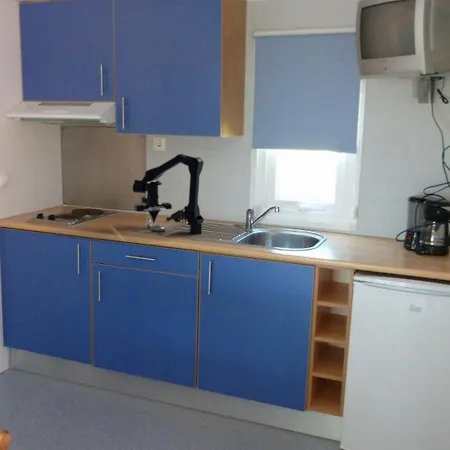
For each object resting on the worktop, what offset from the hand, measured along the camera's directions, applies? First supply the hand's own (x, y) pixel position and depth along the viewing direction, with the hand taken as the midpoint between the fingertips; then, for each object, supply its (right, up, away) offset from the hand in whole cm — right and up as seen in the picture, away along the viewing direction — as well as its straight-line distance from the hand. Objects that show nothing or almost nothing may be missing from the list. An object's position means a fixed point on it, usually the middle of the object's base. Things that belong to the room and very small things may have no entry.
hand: (153, 223), depth 283 cm
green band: (-1, -6, -7) cm, 9 cm away
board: (+1, -5, -5) cm, 7 cm away
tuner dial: (+1, -4, -4) cm, 6 cm away
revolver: (+13, -1, +24) cm, 27 cm away
